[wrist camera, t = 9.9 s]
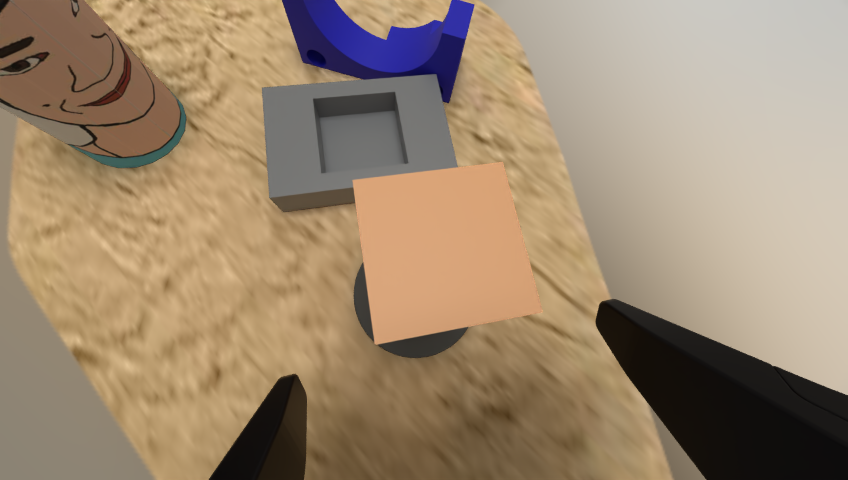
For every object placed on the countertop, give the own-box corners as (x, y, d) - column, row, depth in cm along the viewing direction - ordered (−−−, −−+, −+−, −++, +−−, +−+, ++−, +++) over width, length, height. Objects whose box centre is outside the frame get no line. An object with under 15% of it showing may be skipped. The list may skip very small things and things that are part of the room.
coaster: (486, 343, 20) (489, 343, 20) (363, 368, 19) (362, 370, 19) (460, 227, 22) (462, 225, 22) (347, 244, 21) (346, 242, 21)
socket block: (452, 189, 23) (459, 174, 21) (283, 211, 21) (269, 197, 19) (432, 98, 25) (436, 74, 23) (275, 112, 23) (261, 87, 21)
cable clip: (460, 61, 27) (478, -12, 21) (448, 104, 25) (465, 39, 19) (322, 22, 26) (302, -63, 20) (303, 64, 25) (276, -15, 19)
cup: (124, 187, 21) (-481, -123, 6) (58, 126, 21) (-629, -282, 7) (207, 123, 23) (-121, -231, 8) (143, 68, 23) (-265, -351, 9)
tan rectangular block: (456, 318, 20) (542, 312, 9) (385, 332, 19) (374, 345, 8) (442, 250, 21) (502, 162, 10) (374, 260, 21) (352, 180, 9)
